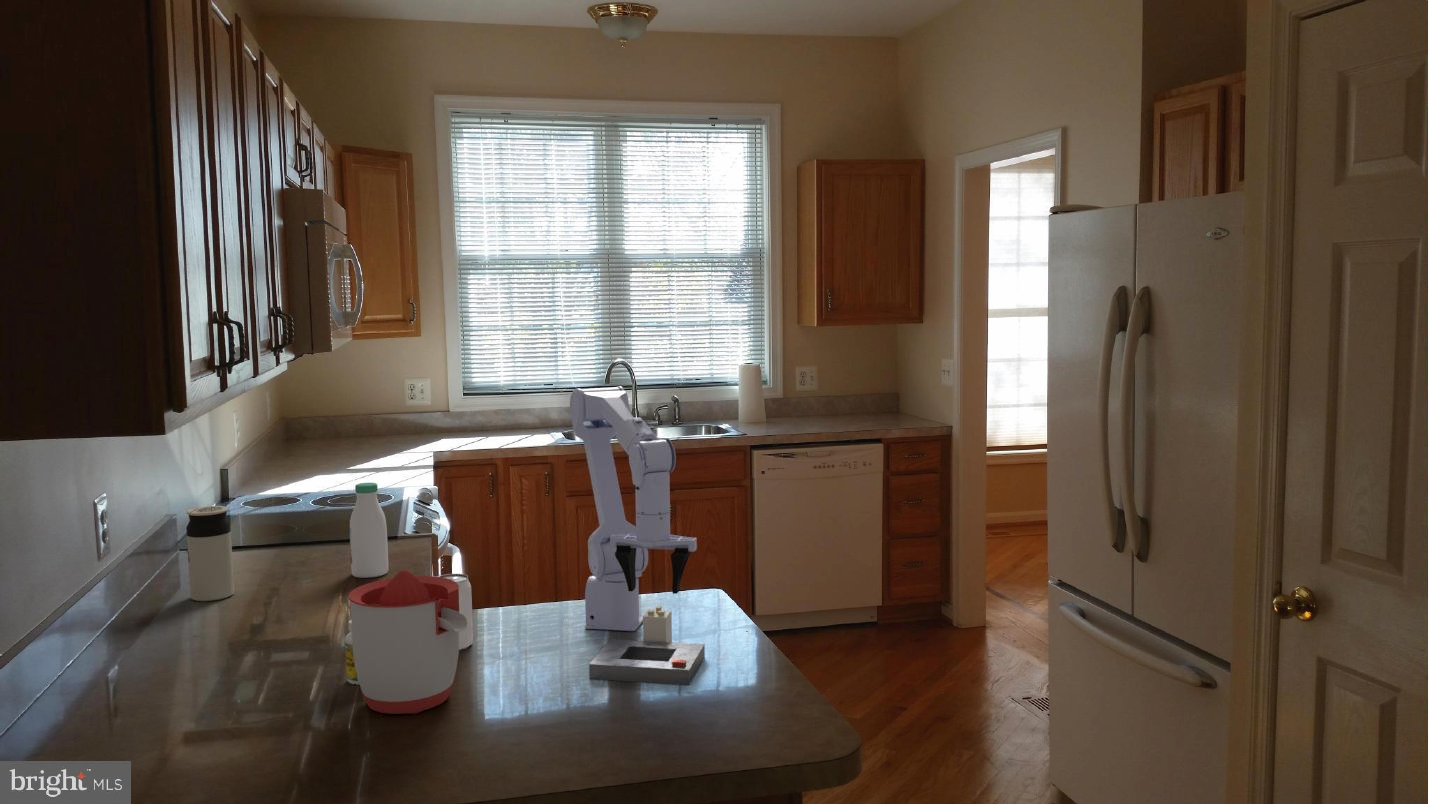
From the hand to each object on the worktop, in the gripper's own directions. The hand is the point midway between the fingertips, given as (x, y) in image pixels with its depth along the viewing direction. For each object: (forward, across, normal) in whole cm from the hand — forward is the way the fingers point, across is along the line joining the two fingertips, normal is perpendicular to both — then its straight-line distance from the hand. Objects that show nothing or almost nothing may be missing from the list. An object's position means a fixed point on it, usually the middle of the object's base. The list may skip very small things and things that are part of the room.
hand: (653, 590), depth 172 cm
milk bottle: (+11, -74, +37) cm, 84 cm away
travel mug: (+11, -97, +16) cm, 99 cm away
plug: (+10, 0, +2) cm, 11 cm away
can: (+11, -35, -4) cm, 37 cm away
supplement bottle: (+11, -42, -21) cm, 48 cm away
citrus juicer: (+10, -30, -28) cm, 42 cm away
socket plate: (+10, +1, -8) cm, 13 cm away
